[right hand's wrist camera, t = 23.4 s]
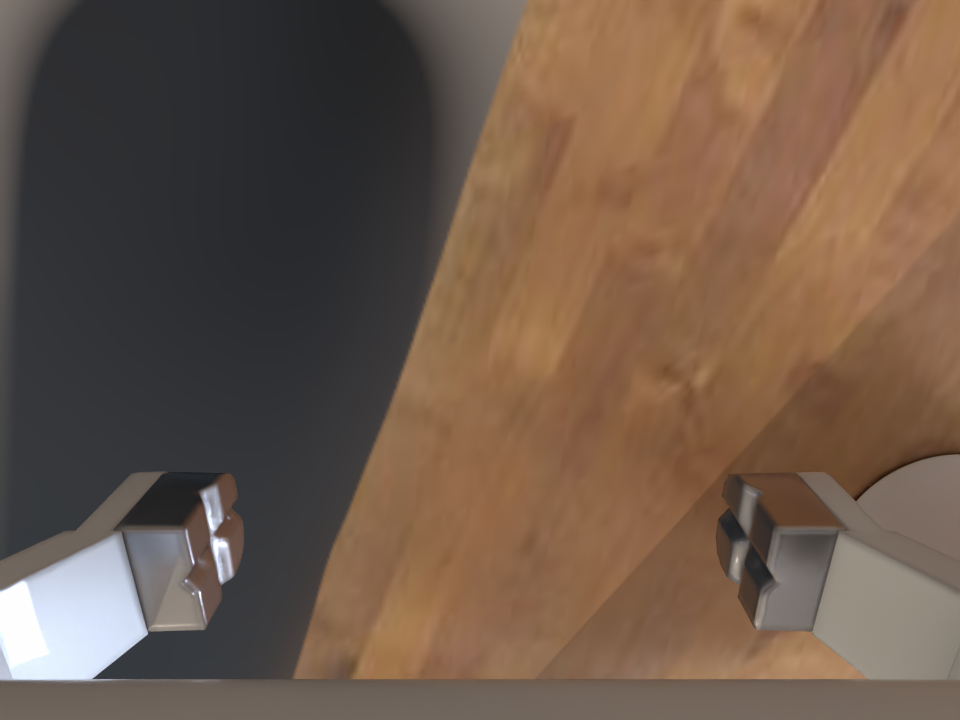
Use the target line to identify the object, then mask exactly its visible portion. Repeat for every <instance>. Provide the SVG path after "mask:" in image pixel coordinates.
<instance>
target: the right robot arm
mask: <svg viewBox="0 0 960 720" xmlns="http://www.w3.org/2000/svg"><path fill="white" fill-rule="evenodd" d="M237 497H238V495H237V490H236V485H235V481H234V478H233V477H232V476H231V475H230V474H229V473H193V472H169V473H167V472H138V473H133V474H131V475H130V476H129V477H128V478H127V479H126V480H125V481H124V482H123V483H122V484H121V485H120V486H119V487H118V488H117V489H116V490H115V491H114V492H113V493H112V494H111V495H110V496H109V497H108V498H107V499H106V500H105V502H104V503H102V504H101V506H100V507H99V508H98V509H97V510H96V511H95V512H94V513H93V514H92V515H91V516H90V517H89V518H88V519H87V520H86V521H85V522H84V523H83V524H82V525H81V526H80V527H79V528H78V529H77V530H76V531H64V532H62V533H60V534H58V535H56V536H53V537H51V538H49V539H47V540H45V541H42V542H40V543H38V544H36V545H34V546H31V547H29V548H27V549H25V550H23V551H20V552H18V553H16V554H14V555H12V556H10V557H7V558H5V559H3V560H1V561H0V720H960V454H953V455H942V456H936V457H931V458H927V459H923V460H920V461H917V462H914V463H911V464H909V465H906V466H904V467H902V468H900V469H898V470H896V471H894V472H892V473H890V474H888V475H887V476H885V477H884V478H882V479H881V480H879V481H878V482H876V483H875V484H874V485H873V486H871V487H870V488H869V489H868V490H867V491H866V492H865V493H864V494H863V495H861V496H860V498H859V499H858V500H857V501H855V500H854V499H853V498H852V497H851V496H850V495H849V494H848V493H847V492H846V491H845V490H844V489H843V488H842V487H841V486H840V485H839V484H838V483H837V482H836V481H835V480H834V479H833V478H832V477H831V476H830V475H829V474H827V473H824V472H822V471H818V472H791V473H758V474H729V475H728V477H727V479H726V481H725V484H724V489H723V494H722V497H723V498H724V500H725V501H726V503H727V505H728V506H729V509H728V510H727V511H726V512H725V513H724V514H723V515H722V516H721V517H720V518H719V519H718V524H717V532H716V543H717V554H718V557H719V560H720V564H721V566H722V568H723V570H724V572H725V574H726V576H727V577H728V578H729V579H731V580H732V581H734V582H735V583H737V584H738V585H740V588H739V593H738V599H739V601H740V602H741V604H742V606H743V608H744V610H745V612H746V613H747V615H748V617H749V619H750V621H751V623H752V625H753V626H754V628H755V630H782V631H813V632H812V634H813V635H814V636H815V637H817V638H818V639H819V640H820V641H822V642H823V643H824V644H825V645H827V646H828V647H829V648H830V649H832V650H833V651H834V652H835V653H837V654H838V655H839V656H840V657H842V658H843V659H844V660H845V661H847V662H848V663H849V664H850V665H852V666H853V667H854V668H855V669H857V670H858V671H859V672H860V673H862V674H863V675H864V676H865V677H867V678H868V679H92V678H94V677H95V676H96V675H97V674H99V673H100V672H101V671H102V670H103V669H105V668H106V667H107V666H109V665H110V664H111V663H112V662H114V661H115V660H116V659H117V658H119V657H120V656H121V655H122V654H124V653H125V652H126V651H127V650H129V649H130V648H131V647H132V646H134V645H135V644H136V643H137V642H139V641H140V640H141V639H143V638H144V637H145V636H146V635H147V634H148V632H147V631H177V630H205V628H206V626H207V625H208V623H209V621H210V619H211V617H212V615H213V614H214V612H215V610H216V608H217V606H218V604H219V602H220V600H221V599H222V593H221V588H220V585H222V584H223V583H225V582H226V581H228V580H229V579H231V578H232V577H233V576H234V574H235V572H236V570H237V568H238V566H239V564H240V560H241V556H242V551H243V547H244V530H243V524H242V519H241V518H240V517H239V516H238V515H237V514H236V513H235V512H234V511H233V510H232V509H231V506H232V505H233V503H234V501H235V500H236V498H237Z"/></svg>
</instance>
